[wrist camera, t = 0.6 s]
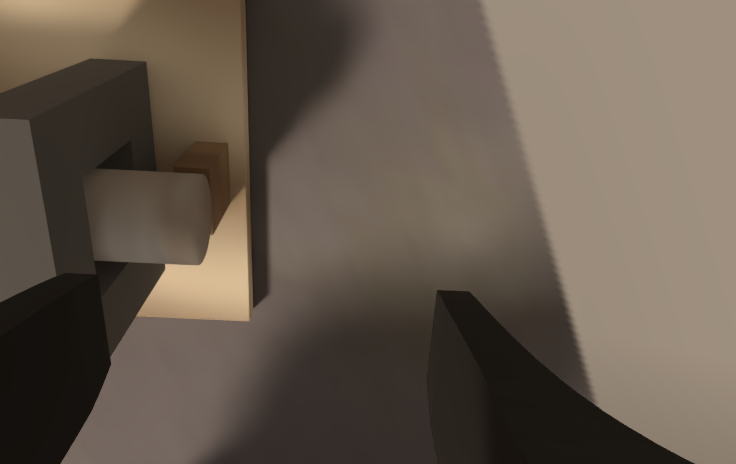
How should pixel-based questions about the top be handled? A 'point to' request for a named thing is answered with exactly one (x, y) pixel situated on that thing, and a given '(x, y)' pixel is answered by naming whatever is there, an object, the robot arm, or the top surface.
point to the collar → (72, 178)
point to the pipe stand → (161, 140)
